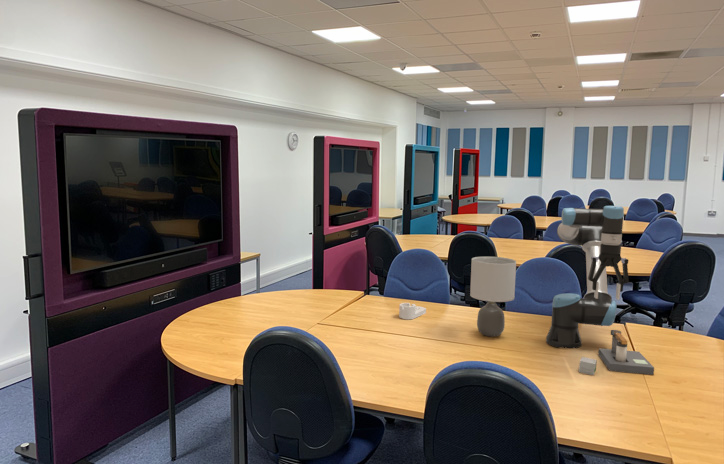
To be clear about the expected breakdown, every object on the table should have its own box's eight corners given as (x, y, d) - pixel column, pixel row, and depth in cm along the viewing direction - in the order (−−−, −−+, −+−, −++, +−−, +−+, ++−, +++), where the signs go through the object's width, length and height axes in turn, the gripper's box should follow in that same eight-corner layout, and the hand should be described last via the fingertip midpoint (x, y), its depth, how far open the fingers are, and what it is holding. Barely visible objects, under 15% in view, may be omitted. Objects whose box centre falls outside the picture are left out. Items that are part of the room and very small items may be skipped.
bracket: (410, 320, 263) (410, 308, 262) (396, 317, 268) (396, 305, 268) (428, 312, 279) (428, 300, 278) (414, 309, 284) (415, 298, 284)
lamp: (465, 337, 236) (468, 261, 232) (472, 325, 255) (475, 255, 251) (510, 343, 229) (514, 265, 224) (514, 330, 248) (518, 258, 243)
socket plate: (609, 370, 199) (611, 346, 197) (598, 354, 216) (600, 332, 215) (653, 374, 195) (655, 349, 194) (638, 358, 213) (640, 335, 212)
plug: (616, 367, 202) (618, 344, 201) (613, 364, 206) (615, 341, 204) (626, 368, 201) (628, 345, 200) (623, 365, 205) (625, 341, 204)
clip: (618, 343, 200) (619, 340, 199) (609, 332, 213) (609, 329, 213) (629, 344, 199) (630, 341, 199) (619, 333, 212) (619, 330, 212)
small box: (594, 375, 194) (595, 363, 193) (578, 372, 197) (579, 360, 196) (596, 371, 199) (597, 359, 198) (580, 367, 202) (581, 356, 201)
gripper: (586, 244, 201) (582, 299, 204) (641, 246, 197) (636, 302, 199) (582, 241, 208) (578, 294, 211) (635, 243, 204) (630, 298, 207)
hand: (606, 298), depth 205 cm, fingers open, 8 cm apart
